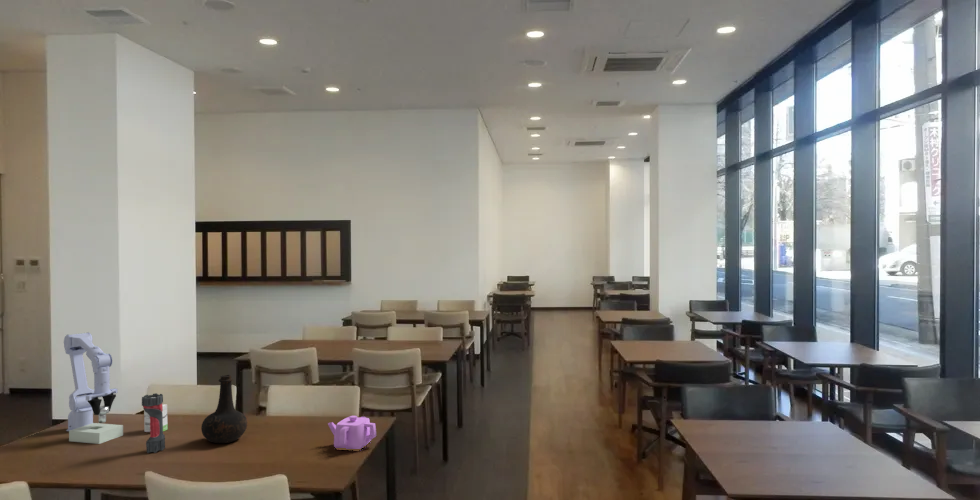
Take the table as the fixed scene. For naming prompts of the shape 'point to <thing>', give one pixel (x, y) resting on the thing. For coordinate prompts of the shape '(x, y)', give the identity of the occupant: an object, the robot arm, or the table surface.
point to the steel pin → (103, 413)
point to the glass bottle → (224, 417)
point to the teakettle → (353, 432)
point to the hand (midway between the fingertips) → (102, 413)
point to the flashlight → (154, 422)
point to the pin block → (96, 433)
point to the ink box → (147, 419)
